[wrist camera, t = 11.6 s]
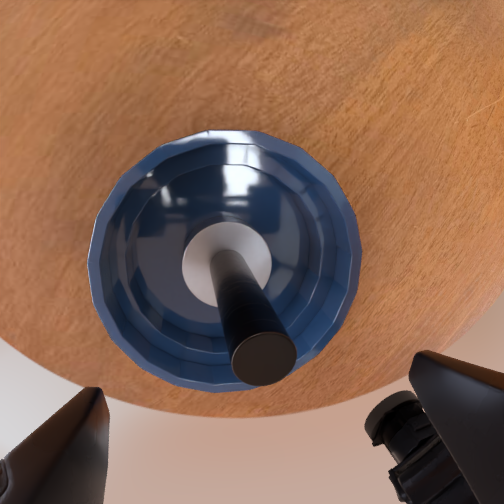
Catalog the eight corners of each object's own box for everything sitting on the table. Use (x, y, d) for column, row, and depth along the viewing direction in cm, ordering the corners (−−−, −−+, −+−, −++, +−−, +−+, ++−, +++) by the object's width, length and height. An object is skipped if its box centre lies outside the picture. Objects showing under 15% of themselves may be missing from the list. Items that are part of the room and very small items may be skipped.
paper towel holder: (262, 292, 21) (330, 407, 10) (184, 296, 20) (187, 425, 9) (265, 215, 19) (353, 277, 9) (181, 216, 18) (172, 287, 8)
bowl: (318, 342, 23) (342, 376, 19) (123, 354, 21) (113, 395, 16) (334, 144, 19) (370, 141, 15) (104, 141, 17) (80, 136, 12)
